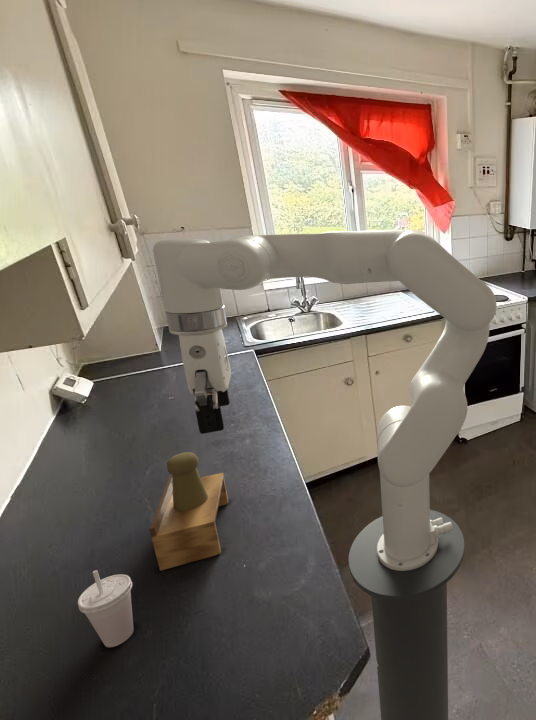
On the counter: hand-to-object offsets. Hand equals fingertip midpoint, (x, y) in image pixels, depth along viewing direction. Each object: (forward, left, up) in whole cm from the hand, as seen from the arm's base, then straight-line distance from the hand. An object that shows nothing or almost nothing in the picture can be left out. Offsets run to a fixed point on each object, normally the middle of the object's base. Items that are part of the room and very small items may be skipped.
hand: (216, 417), depth 71 cm
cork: (+10, -18, -26) cm, 34 cm away
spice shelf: (+10, -18, -34) cm, 40 cm away
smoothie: (+18, +4, -34) cm, 39 cm away
